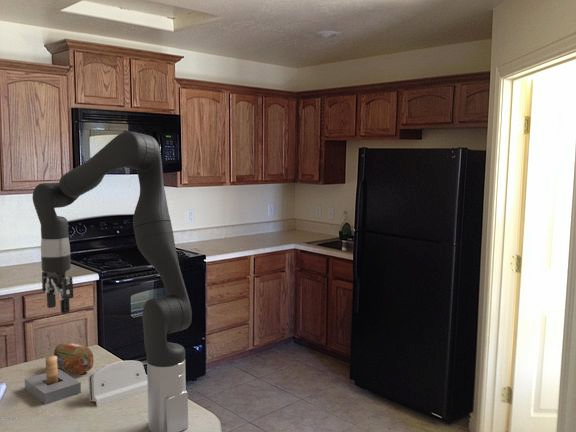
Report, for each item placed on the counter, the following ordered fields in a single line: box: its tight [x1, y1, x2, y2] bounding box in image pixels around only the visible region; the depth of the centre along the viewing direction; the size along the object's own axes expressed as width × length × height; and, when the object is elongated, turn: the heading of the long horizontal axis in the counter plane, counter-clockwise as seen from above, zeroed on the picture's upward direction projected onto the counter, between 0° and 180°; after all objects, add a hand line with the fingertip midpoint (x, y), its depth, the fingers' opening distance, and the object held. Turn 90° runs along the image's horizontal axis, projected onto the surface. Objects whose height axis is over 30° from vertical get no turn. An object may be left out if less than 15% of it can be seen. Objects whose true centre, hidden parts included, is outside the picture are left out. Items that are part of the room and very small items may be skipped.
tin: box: [53, 342, 94, 375], centre depth 167 cm, size 15×3×8 cm, turn 64°
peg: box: [45, 355, 59, 385], centre depth 152 cm, size 3×3×10 cm
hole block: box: [24, 368, 82, 405], centre depth 152 cm, size 14×10×3 cm
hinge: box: [88, 359, 148, 407], centre depth 151 cm, size 17×5×10 cm, turn 133°
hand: (58, 310), depth 151 cm, fingers open, 8 cm apart
